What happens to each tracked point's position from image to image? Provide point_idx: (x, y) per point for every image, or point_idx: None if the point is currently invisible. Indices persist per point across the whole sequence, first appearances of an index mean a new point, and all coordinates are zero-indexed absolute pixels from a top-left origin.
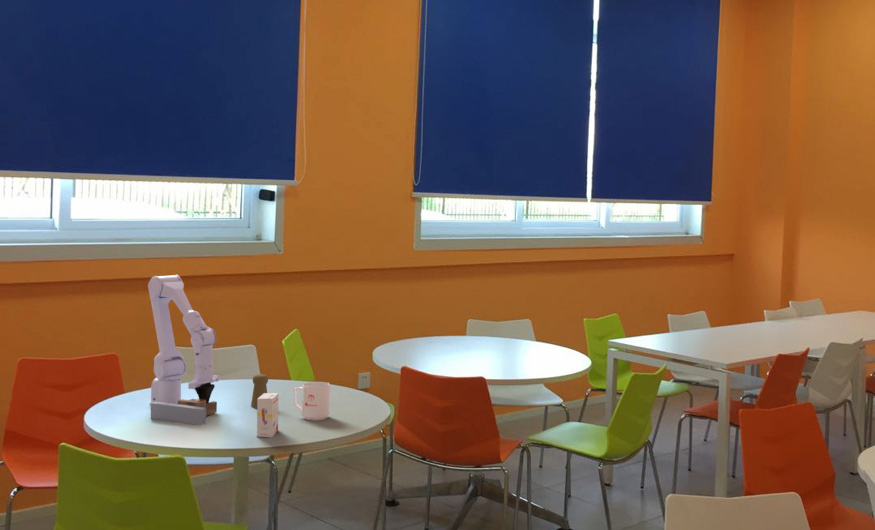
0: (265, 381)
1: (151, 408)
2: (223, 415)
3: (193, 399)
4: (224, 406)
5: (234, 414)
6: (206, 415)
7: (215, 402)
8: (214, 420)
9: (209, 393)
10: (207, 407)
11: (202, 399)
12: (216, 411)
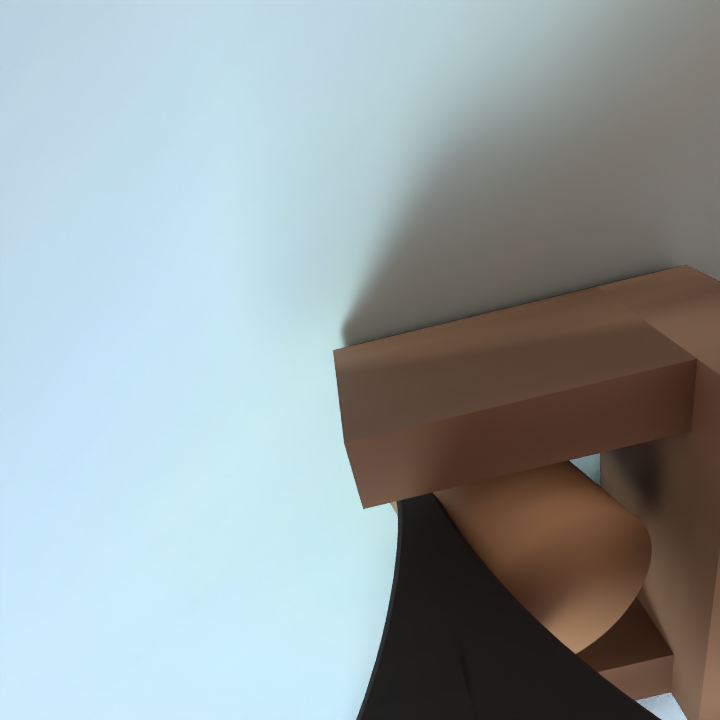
0: None
1: None
2: (366, 160)
3: None
4: (10, 534)
5: (185, 60)
6: (586, 292)
7: (386, 429)
8: (715, 3)
9: (456, 663)
10: (627, 345)
11: None
12: (339, 353)
